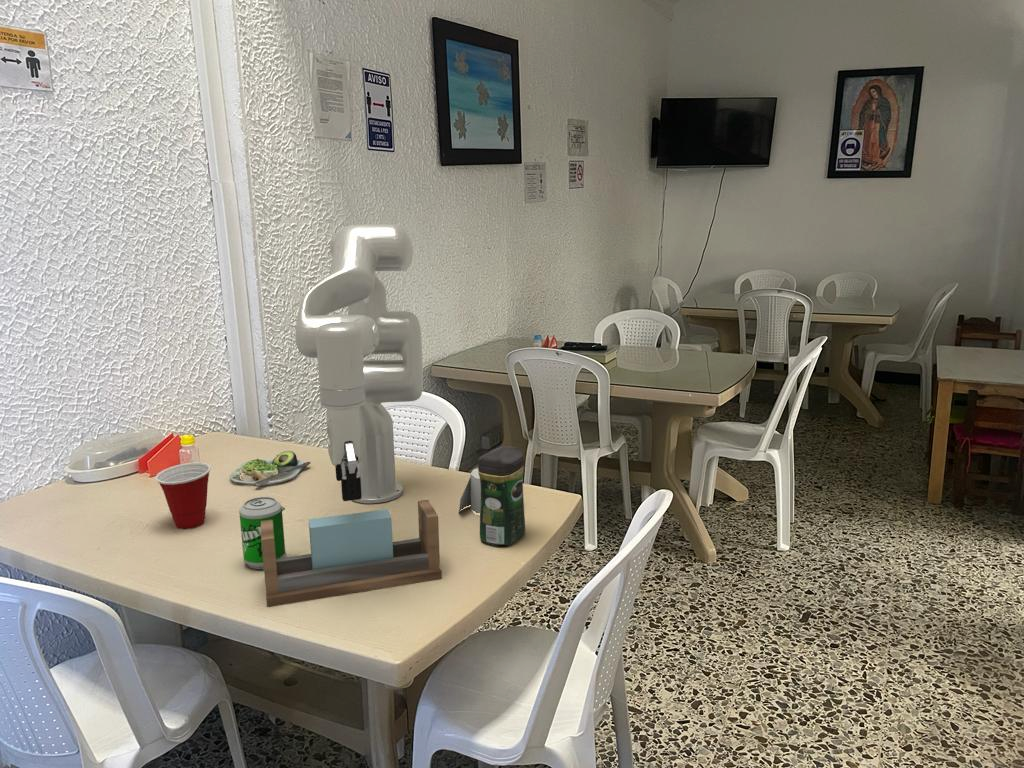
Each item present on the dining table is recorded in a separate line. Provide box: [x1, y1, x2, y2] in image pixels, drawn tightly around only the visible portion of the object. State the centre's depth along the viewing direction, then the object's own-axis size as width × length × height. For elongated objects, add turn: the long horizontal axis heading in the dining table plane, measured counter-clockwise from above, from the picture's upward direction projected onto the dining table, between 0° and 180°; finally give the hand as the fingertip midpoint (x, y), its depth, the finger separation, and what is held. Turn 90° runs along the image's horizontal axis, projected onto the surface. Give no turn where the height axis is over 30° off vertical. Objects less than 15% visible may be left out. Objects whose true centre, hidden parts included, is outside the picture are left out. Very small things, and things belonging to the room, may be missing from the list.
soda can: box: [238, 496, 286, 570], centre depth 142 cm, size 8×8×12 cm
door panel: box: [308, 508, 394, 570], centre depth 136 cm, size 4×14×10 cm, turn 108°
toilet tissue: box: [458, 467, 481, 513], centre depth 166 cm, size 9×13×9 cm
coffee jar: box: [477, 445, 526, 546], centre depth 151 cm, size 10×8×19 cm
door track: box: [261, 499, 443, 608], centre depth 136 cm, size 11×30×12 cm, turn 109°
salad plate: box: [229, 450, 311, 487], centre depth 189 cm, size 19×18×5 cm
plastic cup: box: [154, 461, 212, 530], centre depth 160 cm, size 11×11×12 cm
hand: (348, 489), depth 134 cm, fingers open, 9 cm apart
